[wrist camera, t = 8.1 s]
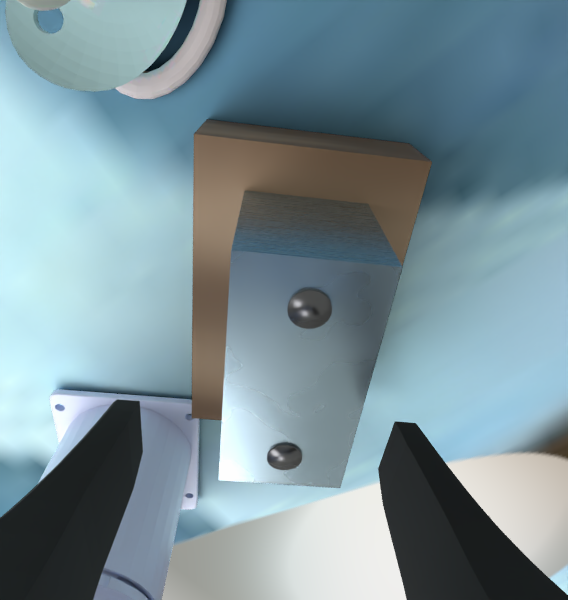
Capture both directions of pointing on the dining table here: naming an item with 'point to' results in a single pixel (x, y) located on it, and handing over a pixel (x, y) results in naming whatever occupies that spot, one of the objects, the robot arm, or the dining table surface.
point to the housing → (301, 336)
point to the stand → (288, 181)
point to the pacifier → (113, 43)
